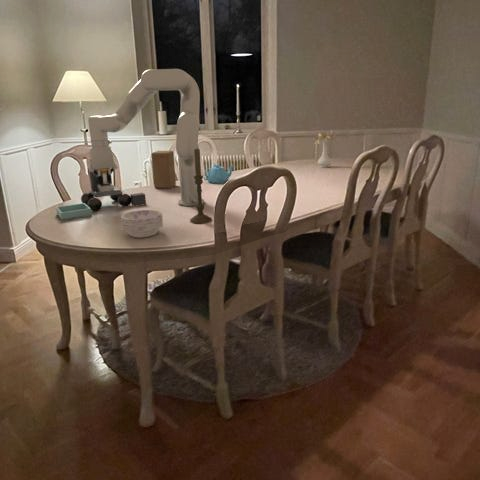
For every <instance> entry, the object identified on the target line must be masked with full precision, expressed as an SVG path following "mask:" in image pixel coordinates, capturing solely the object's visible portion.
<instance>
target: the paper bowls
mask: <svg viewBox="0 0 480 480" xmlns="http://www.w3.org/2000/svg"><path fill="white" fill-rule="evenodd" d="M163 220H164V219H163V213H162V212H161V211H160V210H155V209H154V210H153V209H143V210H133V211H128V212H125V213H123V214H121V215H120V223H121V229H122V230H123V231H125V232H127V233H128V235H129V236H131V237H133V238H137V239H139V238H141V239H143V238H149V237H153V236H155V235H156V234H158V230H159V229H160V228H161V229H162V227H163V225H164V223H163V222H164V221H163Z"/></svg>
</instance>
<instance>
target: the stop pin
mask: <svg viewBox="0 0 480 480" xmlns="http://www.w3.org/2000/svg"><path fill="white" fill-rule="evenodd" d="M107 171H108V169H100V174H101V176H102V181H103V184H102V186H107V185H109V184H108V176H107Z"/></svg>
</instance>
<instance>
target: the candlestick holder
mask: <svg viewBox="0 0 480 480" xmlns="http://www.w3.org/2000/svg"><path fill="white" fill-rule="evenodd" d="M198 147H199V146H198ZM198 147H197V148H198ZM194 154H195V171H196V176H194V178H195V184H197V192H198V205H196V206H195V208H196V210H197V214H196V215H193V217H191V218H189V222H190V223H192V224H197V225H203V224H209V223H211V222H213V219H212V217H211V216H209V215H207V214H205V213H204V209H205V204H204V203H203V204H202V201H201V200H202V199H203V198H202V191H203V188H202V186H201V185H202V184H203V183H204V181H203V179H204V175H202V167H201V165H202V164H201V150H200V148H199V149H194Z"/></svg>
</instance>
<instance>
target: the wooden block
mask: <svg viewBox="0 0 480 480" xmlns="http://www.w3.org/2000/svg"><path fill="white" fill-rule="evenodd" d="M150 155H151V156H150V157H151V163H152V167H151V168H152V178H153V186H154V188H155V189H171V188H173V187H175V186H176V184H177V183H176V182H177V181H176V170H175V157H174V156H175V155H174V151H173V150H156V151H153V152H151V154H150Z"/></svg>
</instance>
